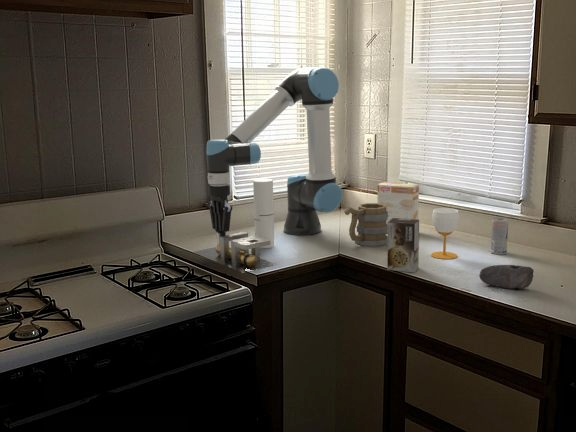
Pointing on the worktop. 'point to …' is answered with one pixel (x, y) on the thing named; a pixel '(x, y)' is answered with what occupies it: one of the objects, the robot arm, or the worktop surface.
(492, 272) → the perforated stone tool
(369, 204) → the tankard
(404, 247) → the grey cookie box
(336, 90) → the robot arm
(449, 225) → the cup
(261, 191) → the cylindrical container
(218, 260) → the hearth plate
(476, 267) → the worktop surface
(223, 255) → the grey angled bracket piece
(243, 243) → the white stool-shaped bracket
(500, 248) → the energy drink
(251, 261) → the tan cylinder
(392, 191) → the coffeecake box
